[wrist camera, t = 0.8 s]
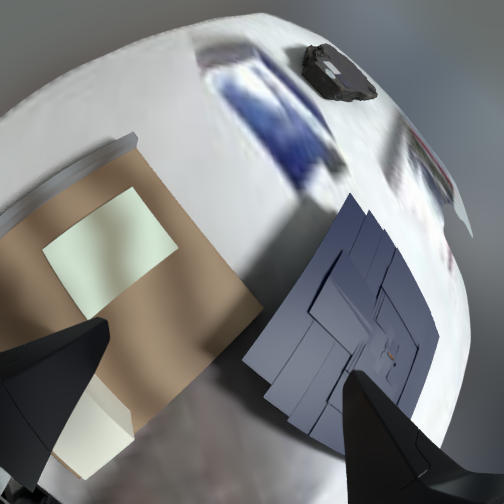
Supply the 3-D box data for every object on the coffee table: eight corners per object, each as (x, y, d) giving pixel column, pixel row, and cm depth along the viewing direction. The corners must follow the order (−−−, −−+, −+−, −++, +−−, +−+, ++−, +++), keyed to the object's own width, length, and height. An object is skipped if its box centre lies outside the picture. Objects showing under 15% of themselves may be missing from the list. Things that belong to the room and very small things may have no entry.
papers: (337, 191, 32) (360, 180, 29) (426, 335, 39) (444, 334, 36) (209, 373, 20) (232, 384, 16) (368, 469, 27) (389, 476, 24)
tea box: (130, 410, 16) (134, 439, 11) (90, 445, 14) (83, 481, 9) (65, 336, 16) (43, 338, 10) (26, 373, 13) (-6, 385, 8)
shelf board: (80, 473, 13) (77, 487, 11) (-52, 285, 11) (-66, 279, 9) (258, 309, 24) (273, 306, 22) (129, 147, 23) (132, 130, 21)
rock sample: (296, 44, 44) (309, 28, 39) (355, 80, 50) (369, 67, 45) (297, 88, 37) (314, 68, 33) (369, 131, 43) (387, 117, 39)
